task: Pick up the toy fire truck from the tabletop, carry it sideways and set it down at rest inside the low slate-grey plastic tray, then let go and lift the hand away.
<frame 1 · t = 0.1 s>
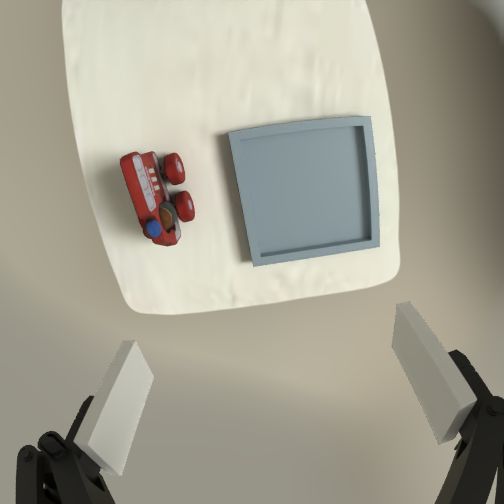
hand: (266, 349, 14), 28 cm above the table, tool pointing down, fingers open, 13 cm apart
tray: (309, 188, 38), on the table
toy fire truck: (166, 191, 39), on the table
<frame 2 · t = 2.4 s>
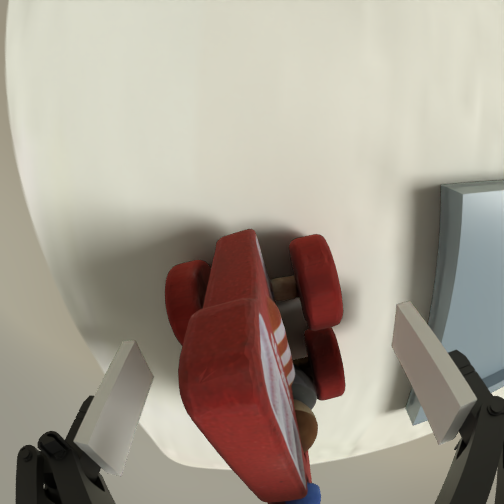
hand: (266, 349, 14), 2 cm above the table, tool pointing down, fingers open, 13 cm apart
toy fire truck: (266, 314, 16), on the table
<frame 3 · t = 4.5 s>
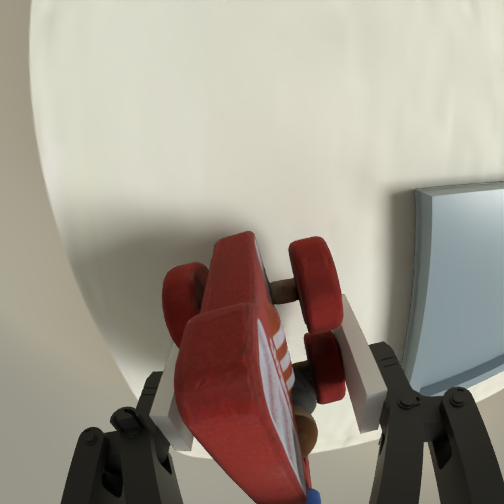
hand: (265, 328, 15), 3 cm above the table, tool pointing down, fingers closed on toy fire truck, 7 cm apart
tray: (495, 290, 18), on the table
toy fire truck: (265, 317, 16), point 2 cm above the table, touching gripper
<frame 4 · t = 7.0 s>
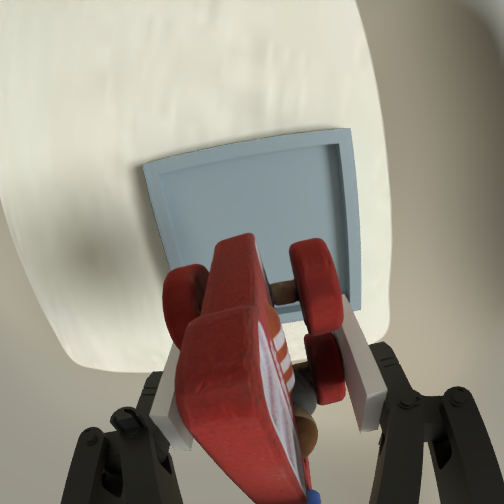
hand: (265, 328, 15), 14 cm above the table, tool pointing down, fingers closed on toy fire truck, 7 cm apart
tray: (261, 235, 28), on the table
toy fire truck: (265, 318, 16), point 14 cm above the table, touching gripper
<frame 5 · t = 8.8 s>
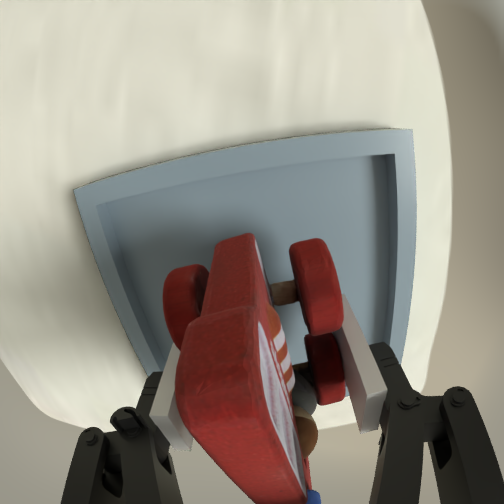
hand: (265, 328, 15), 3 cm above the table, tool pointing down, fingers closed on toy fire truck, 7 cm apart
tray: (264, 294, 18), on the table
toy fire truck: (265, 319, 16), point 3 cm above the table, touching gripper
when the fingers open (2 cm above the table, at t = 9.9 s): toy fire truck stays where it is, resting on tray.
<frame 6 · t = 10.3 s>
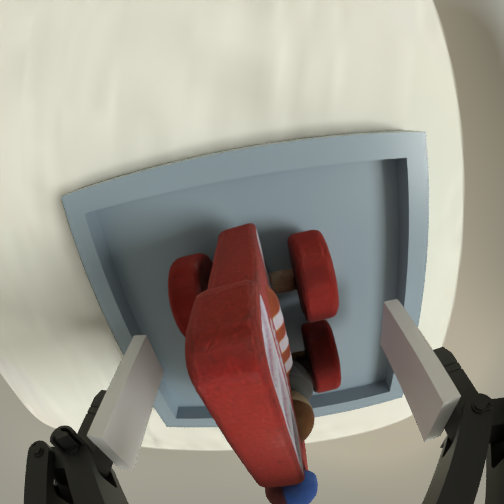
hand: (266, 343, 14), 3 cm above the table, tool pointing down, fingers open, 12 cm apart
tray: (264, 307, 17), on the table
toy fire truck: (264, 308, 17), point 1 cm above the table, touching tray
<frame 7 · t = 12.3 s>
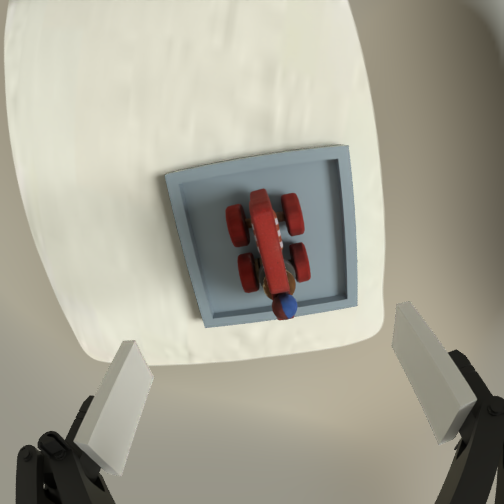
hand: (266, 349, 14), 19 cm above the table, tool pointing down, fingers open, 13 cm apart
tray: (269, 239, 32), on the table
toy fire truck: (269, 238, 31), point 1 cm above the table, touching tray
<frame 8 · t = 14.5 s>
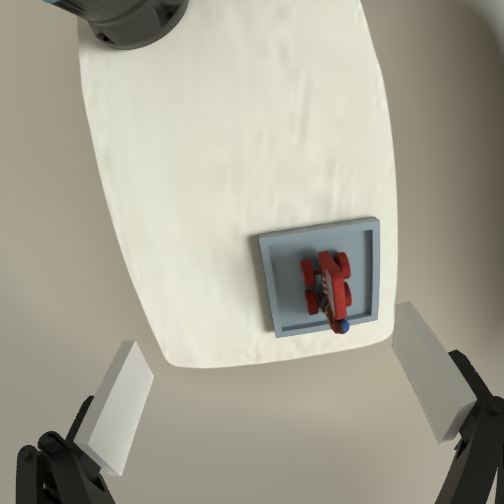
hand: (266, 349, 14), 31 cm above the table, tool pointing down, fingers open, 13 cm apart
tray: (323, 278, 47), on the table
toy fire truck: (324, 278, 46), point 1 cm above the table, touching tray
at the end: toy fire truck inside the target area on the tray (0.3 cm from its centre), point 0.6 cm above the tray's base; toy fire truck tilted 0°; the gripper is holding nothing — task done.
